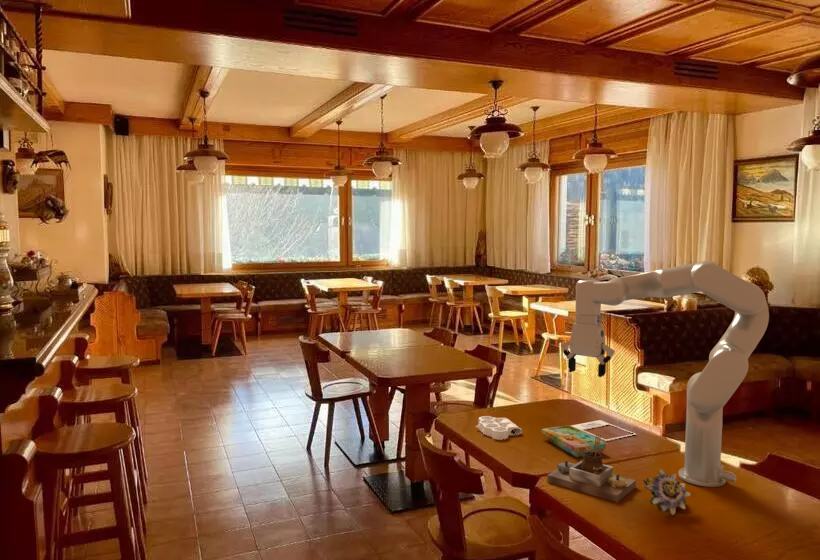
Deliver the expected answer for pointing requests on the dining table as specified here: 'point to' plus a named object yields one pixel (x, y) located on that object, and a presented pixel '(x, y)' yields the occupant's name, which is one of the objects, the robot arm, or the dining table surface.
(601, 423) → the photo frame
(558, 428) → the puzzle game
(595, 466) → the utensil holder
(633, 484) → the gear board
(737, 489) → the dining table surface
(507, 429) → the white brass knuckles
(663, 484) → the passion flower
